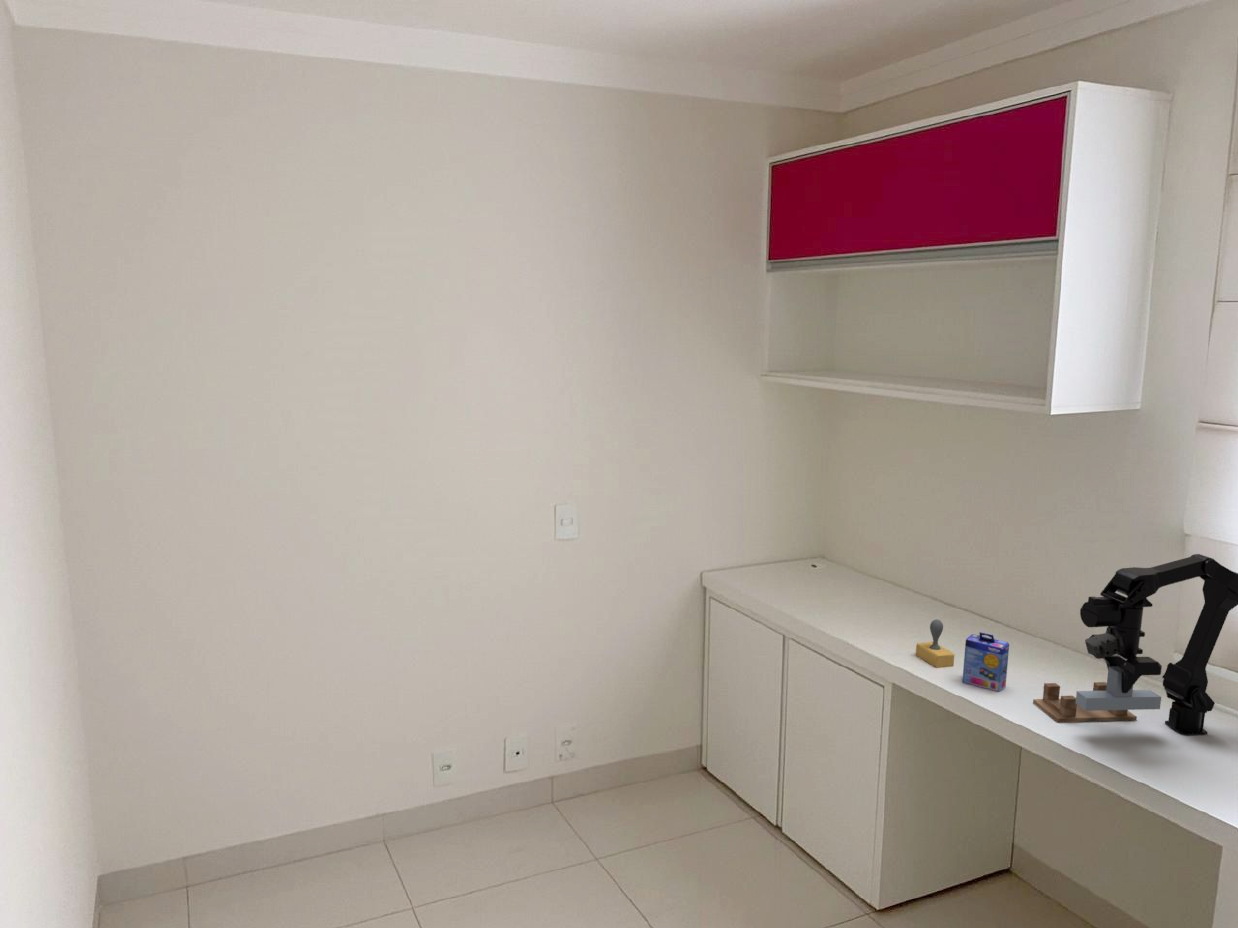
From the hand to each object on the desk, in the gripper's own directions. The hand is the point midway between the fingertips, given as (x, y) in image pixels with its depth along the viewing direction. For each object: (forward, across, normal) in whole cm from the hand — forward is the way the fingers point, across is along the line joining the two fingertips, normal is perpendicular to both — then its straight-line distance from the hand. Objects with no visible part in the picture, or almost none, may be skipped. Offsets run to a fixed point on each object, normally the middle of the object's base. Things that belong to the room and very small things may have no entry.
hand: (1119, 689), depth 213 cm
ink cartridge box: (+12, -30, -17) cm, 36 cm away
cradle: (+11, -12, 0) cm, 17 cm away
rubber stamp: (+12, -47, -23) cm, 54 cm away
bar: (+4, 0, 0) cm, 4 cm away
